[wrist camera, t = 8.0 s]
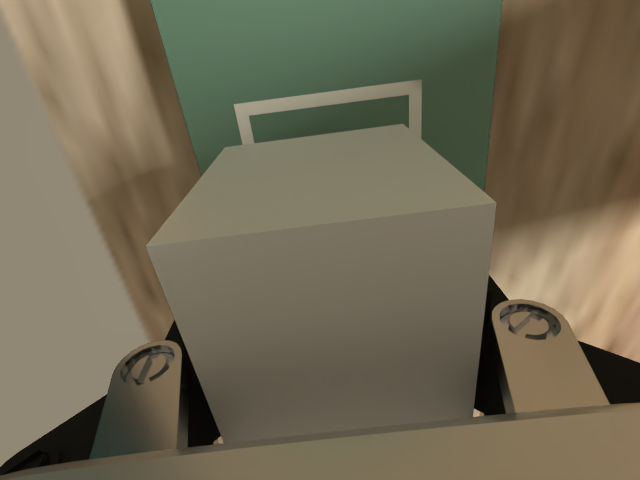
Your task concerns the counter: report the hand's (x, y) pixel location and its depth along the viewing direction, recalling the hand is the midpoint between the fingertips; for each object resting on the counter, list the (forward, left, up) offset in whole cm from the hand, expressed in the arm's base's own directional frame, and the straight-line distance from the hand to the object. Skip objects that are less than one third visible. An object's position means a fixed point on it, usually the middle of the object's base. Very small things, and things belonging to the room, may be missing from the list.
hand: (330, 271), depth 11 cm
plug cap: (0, 0, -1) cm, 1 cm away
